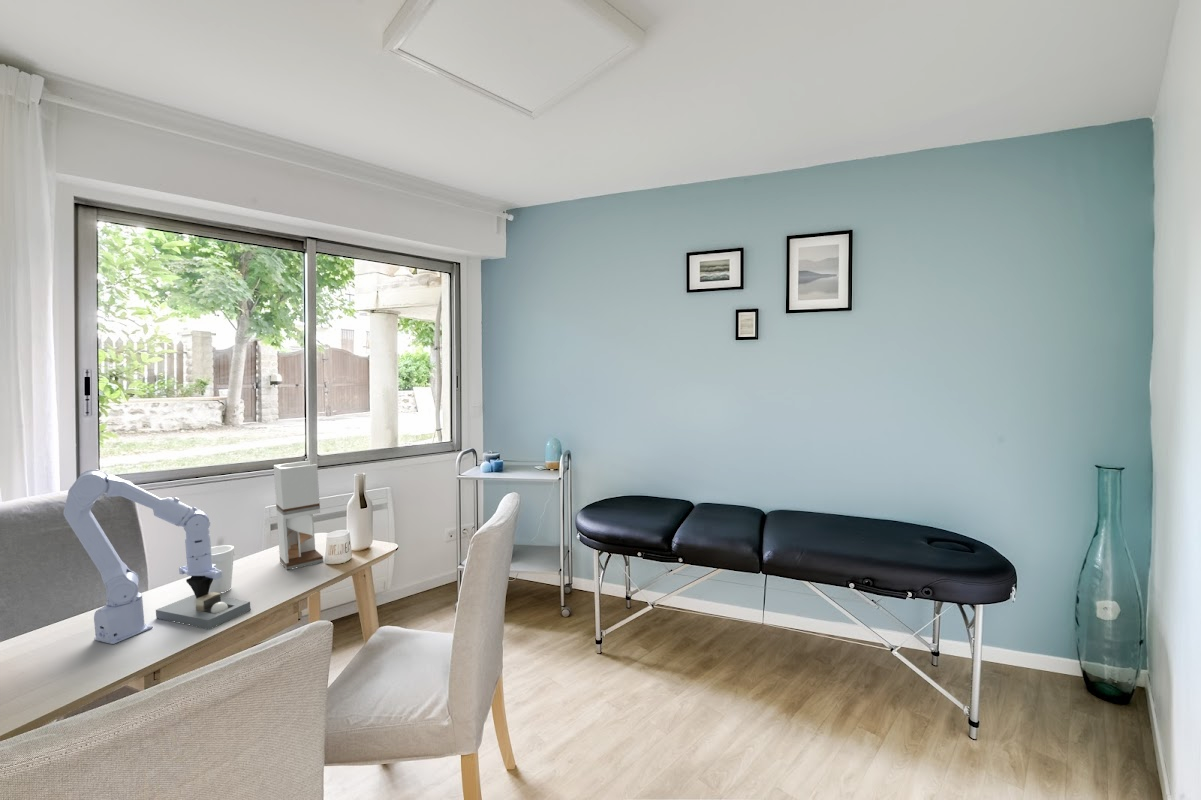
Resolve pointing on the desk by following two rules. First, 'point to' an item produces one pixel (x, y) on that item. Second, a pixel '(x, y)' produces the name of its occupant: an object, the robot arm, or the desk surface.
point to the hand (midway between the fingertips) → (202, 600)
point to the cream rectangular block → (207, 601)
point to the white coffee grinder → (297, 513)
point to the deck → (201, 612)
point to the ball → (219, 607)
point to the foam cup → (222, 567)
